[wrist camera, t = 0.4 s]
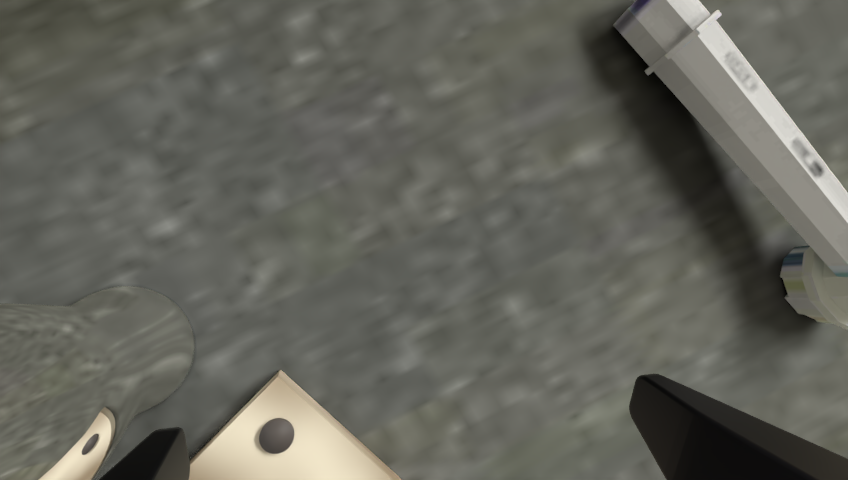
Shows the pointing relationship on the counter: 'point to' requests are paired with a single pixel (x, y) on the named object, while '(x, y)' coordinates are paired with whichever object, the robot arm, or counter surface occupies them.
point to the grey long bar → (752, 142)
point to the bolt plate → (286, 442)
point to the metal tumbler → (84, 378)
